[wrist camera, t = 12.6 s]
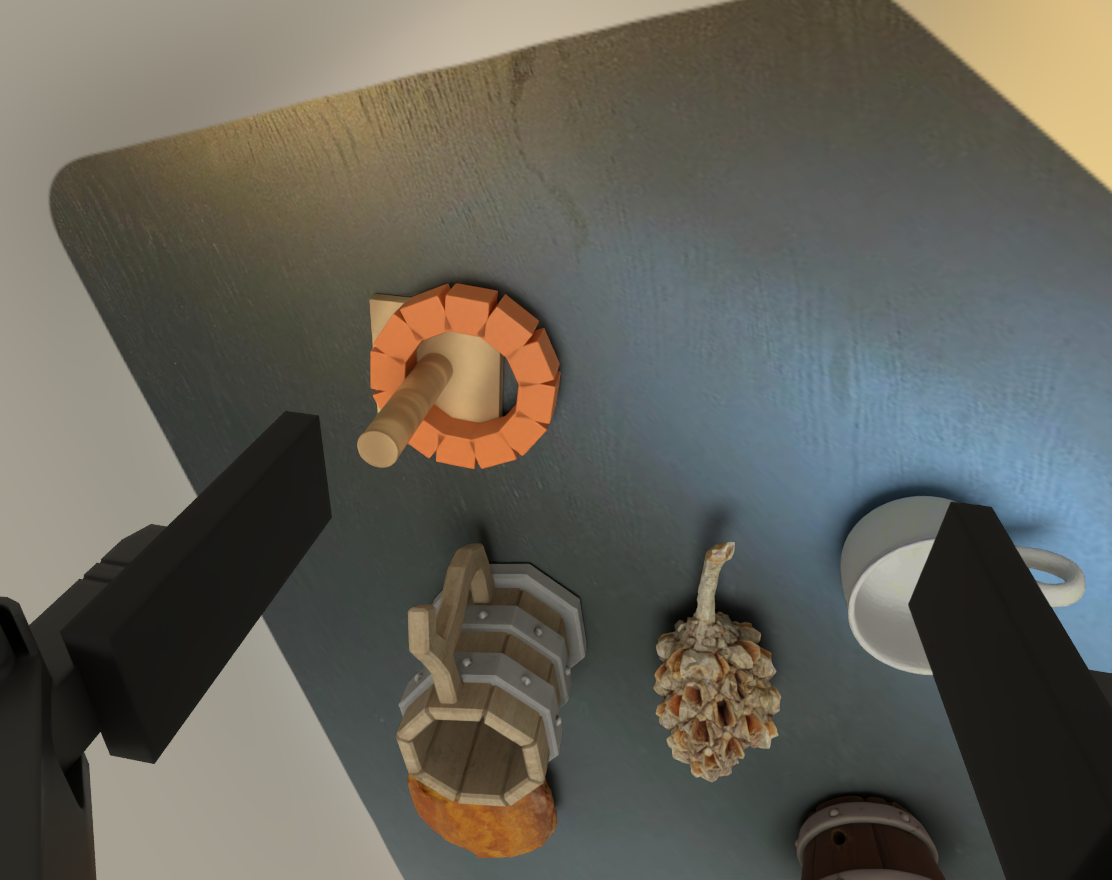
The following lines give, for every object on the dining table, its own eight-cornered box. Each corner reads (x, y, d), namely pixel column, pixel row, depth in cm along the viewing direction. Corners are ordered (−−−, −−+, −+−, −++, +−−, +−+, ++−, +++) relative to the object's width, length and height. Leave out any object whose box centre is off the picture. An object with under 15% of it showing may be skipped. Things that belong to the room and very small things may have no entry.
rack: (505, 308, 48) (454, 387, 38) (502, 425, 53) (456, 525, 43) (375, 293, 49) (291, 367, 39) (383, 409, 54) (310, 503, 44)
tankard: (592, 673, 64) (567, 836, 52) (456, 670, 67) (401, 824, 54) (562, 484, 55) (522, 626, 42) (405, 489, 57) (323, 624, 45)
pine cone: (778, 704, 63) (792, 812, 54) (666, 704, 65) (662, 807, 56) (766, 492, 52) (781, 584, 44) (633, 500, 55) (623, 589, 46)
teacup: (822, 591, 56) (841, 671, 49) (837, 471, 51) (859, 542, 44) (1021, 598, 53) (1070, 684, 47) (1059, 474, 48) (1120, 549, 41)
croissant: (547, 705, 71) (531, 769, 63) (571, 824, 76) (559, 897, 69) (407, 707, 74) (377, 769, 66) (440, 822, 79) (416, 891, 72)
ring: (571, 304, 46) (566, 317, 44) (546, 465, 53) (541, 483, 51) (384, 269, 47) (370, 280, 45) (382, 431, 54) (370, 448, 52)
